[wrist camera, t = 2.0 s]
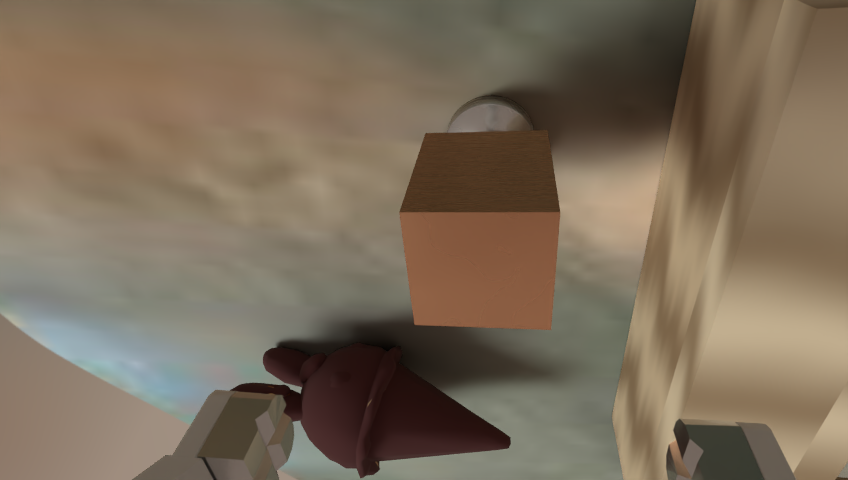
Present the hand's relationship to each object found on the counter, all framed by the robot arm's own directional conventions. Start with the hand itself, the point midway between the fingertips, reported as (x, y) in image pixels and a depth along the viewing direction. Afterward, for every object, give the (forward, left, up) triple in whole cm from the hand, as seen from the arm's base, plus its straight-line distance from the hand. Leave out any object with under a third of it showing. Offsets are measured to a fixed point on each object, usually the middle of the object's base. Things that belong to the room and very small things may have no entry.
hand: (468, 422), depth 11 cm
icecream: (+14, -6, -14) cm, 20 cm away
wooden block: (-1, 0, -13) cm, 13 cm away
